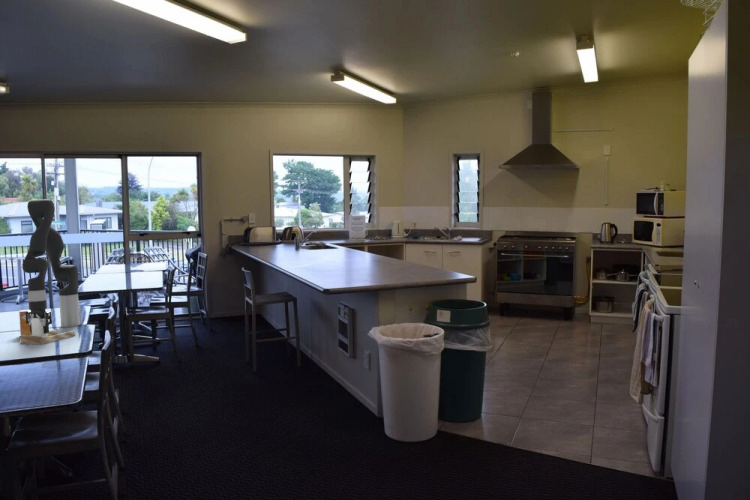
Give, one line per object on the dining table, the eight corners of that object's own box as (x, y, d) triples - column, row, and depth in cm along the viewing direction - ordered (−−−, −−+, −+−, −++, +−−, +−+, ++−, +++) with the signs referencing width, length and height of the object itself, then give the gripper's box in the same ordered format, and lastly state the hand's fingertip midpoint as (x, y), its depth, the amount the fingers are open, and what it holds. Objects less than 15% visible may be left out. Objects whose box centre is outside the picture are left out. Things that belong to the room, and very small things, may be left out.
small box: (21, 337, 293) (19, 311, 292) (20, 335, 299) (18, 310, 298) (39, 335, 298) (38, 309, 297) (38, 333, 303) (37, 308, 302)
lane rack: (55, 334, 299) (55, 327, 299) (74, 335, 295) (74, 328, 295) (20, 343, 280) (20, 336, 280) (40, 344, 276) (39, 337, 276)
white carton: (32, 343, 279) (30, 318, 278) (32, 341, 285) (31, 316, 284) (47, 341, 282) (46, 317, 281) (48, 339, 288) (46, 315, 287)
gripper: (55, 298, 283) (57, 332, 284) (33, 298, 288) (35, 330, 289) (41, 301, 276) (43, 335, 277) (19, 300, 281) (21, 333, 282)
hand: (39, 332), depth 283 cm, fingers open, 8 cm apart
